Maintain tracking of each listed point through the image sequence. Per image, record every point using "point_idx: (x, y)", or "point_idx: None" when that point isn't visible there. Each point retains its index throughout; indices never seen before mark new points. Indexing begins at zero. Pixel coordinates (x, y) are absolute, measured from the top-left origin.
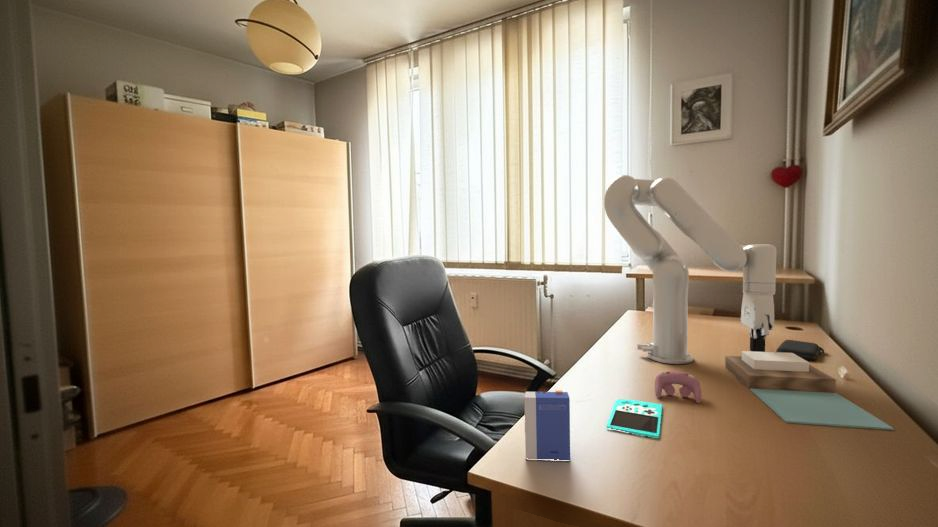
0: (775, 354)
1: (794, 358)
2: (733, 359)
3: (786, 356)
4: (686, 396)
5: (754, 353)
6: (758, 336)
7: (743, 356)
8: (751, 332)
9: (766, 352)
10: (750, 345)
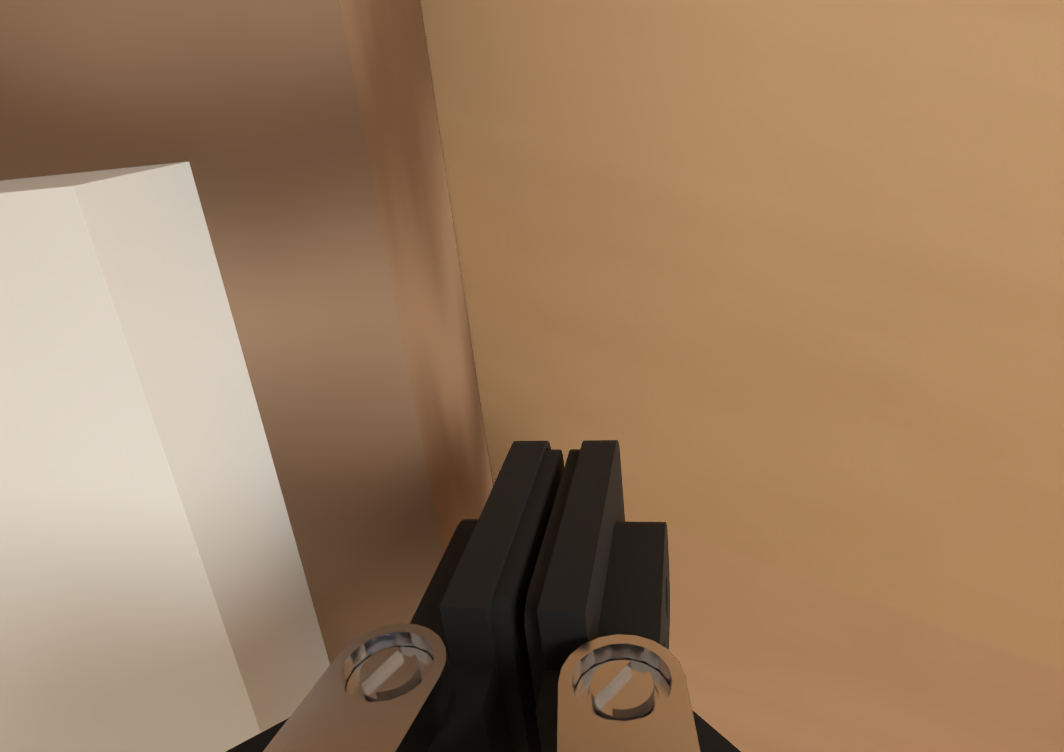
0: (116, 621)
1: (30, 732)
2: (132, 17)
3: (80, 697)
4: None
5: (14, 359)
6: (265, 731)
7: (64, 180)
8: (563, 749)
9: (172, 555)
10: (575, 488)
